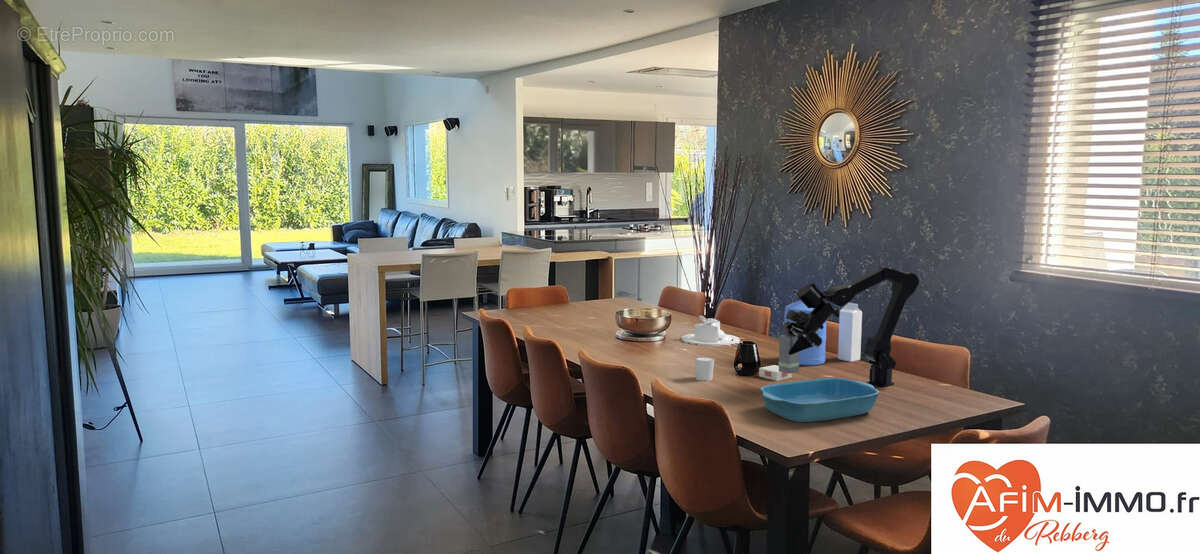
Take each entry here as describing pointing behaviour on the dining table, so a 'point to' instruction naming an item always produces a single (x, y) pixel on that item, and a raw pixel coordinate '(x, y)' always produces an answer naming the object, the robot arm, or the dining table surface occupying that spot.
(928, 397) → the dining table surface
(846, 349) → the milk
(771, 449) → the dining table surface
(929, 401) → the dining table surface
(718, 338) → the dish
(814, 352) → the water jug
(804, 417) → the casserole dish
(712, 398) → the dining table surface
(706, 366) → the white cylinder
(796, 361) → the column
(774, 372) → the white flat box
